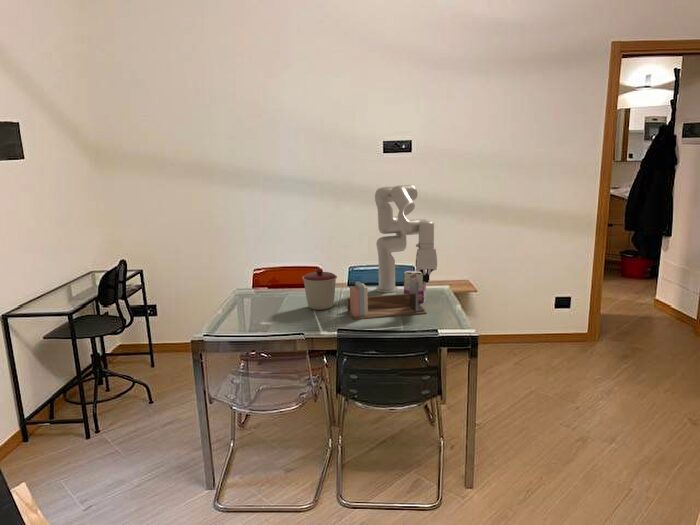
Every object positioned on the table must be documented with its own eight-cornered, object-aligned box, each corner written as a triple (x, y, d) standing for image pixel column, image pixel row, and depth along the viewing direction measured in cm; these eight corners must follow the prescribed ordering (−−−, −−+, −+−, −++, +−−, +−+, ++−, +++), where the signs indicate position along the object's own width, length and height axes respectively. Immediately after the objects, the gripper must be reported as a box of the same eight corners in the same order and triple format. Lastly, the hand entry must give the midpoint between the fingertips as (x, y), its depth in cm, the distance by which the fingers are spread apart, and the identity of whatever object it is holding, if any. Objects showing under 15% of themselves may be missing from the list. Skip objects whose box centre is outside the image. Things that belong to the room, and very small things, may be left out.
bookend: (409, 306, 274) (409, 277, 271) (418, 305, 274) (418, 277, 272) (415, 311, 264) (415, 282, 261) (424, 310, 265) (425, 281, 262)
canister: (333, 312, 269) (332, 272, 265) (299, 311, 272) (297, 271, 268) (341, 303, 286) (340, 265, 282) (308, 302, 290) (307, 264, 286)
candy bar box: (426, 301, 287) (426, 271, 283) (423, 303, 282) (423, 273, 279) (406, 299, 291) (406, 270, 288) (403, 301, 287) (403, 272, 283)
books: (350, 310, 269) (349, 282, 266) (363, 309, 270) (363, 281, 267) (354, 316, 259) (353, 286, 256) (368, 315, 260) (367, 285, 257)
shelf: (347, 311, 271) (347, 298, 270) (417, 305, 278) (417, 293, 277) (353, 319, 257) (353, 306, 256) (426, 313, 264) (426, 300, 262)
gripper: (414, 248, 259) (414, 284, 262) (443, 246, 262) (442, 282, 265) (409, 245, 266) (409, 281, 270) (437, 244, 269) (437, 279, 272)
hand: (426, 281), depth 267 cm, fingers closed
